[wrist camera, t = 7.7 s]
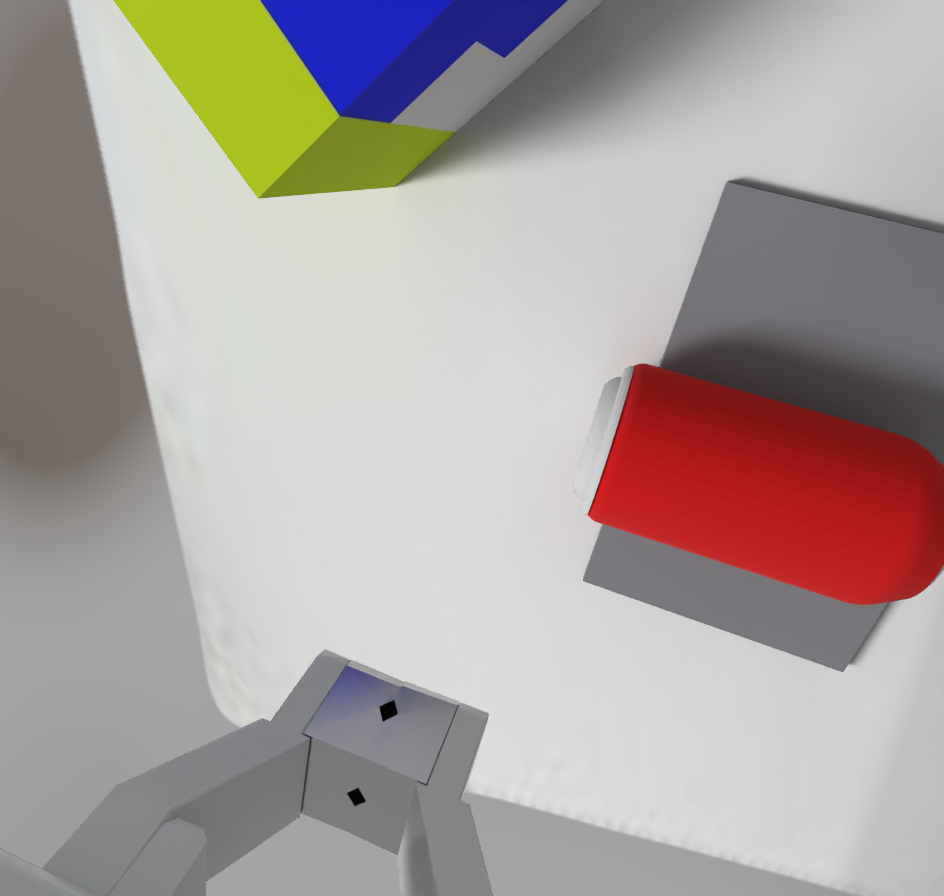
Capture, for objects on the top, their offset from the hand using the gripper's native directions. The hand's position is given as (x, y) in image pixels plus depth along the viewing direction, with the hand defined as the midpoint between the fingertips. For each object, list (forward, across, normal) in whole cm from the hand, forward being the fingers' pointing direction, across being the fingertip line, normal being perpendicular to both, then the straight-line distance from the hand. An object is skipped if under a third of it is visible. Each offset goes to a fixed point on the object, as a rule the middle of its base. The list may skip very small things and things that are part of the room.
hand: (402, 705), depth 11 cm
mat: (+19, -10, +1) cm, 21 cm away
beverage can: (+15, -1, +1) cm, 16 cm away
